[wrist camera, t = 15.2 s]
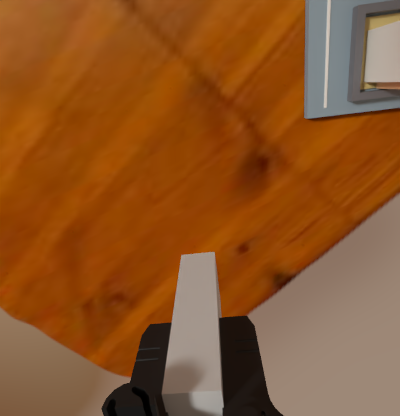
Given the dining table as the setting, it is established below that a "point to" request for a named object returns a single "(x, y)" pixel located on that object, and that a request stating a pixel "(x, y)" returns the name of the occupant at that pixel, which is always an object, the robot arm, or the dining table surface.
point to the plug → (383, 56)
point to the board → (343, 56)
